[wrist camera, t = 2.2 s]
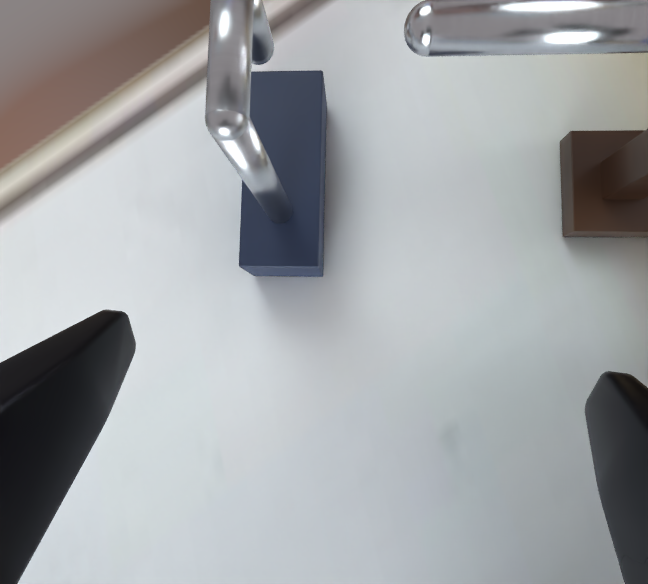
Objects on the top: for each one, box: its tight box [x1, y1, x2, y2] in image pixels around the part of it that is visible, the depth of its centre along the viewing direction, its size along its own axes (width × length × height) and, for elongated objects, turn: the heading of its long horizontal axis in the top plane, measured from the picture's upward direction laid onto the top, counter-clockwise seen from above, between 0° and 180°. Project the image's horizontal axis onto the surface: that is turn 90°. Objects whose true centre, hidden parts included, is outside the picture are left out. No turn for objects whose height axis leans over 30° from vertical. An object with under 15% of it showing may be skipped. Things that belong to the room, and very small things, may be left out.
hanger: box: [205, 0, 327, 277], centre depth 17 cm, size 9×4×12 cm, turn 179°
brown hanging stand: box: [404, 0, 648, 237], centre depth 16 cm, size 5×13×13 cm, turn 89°
